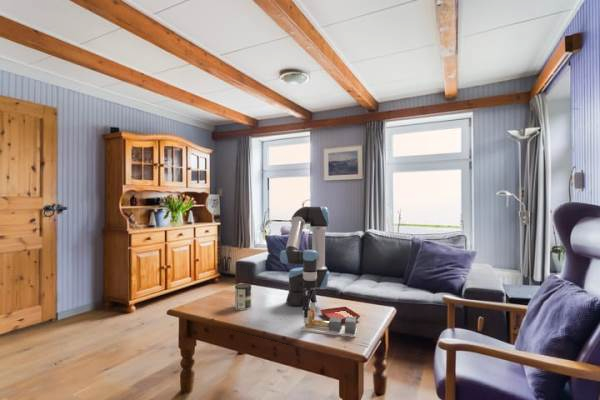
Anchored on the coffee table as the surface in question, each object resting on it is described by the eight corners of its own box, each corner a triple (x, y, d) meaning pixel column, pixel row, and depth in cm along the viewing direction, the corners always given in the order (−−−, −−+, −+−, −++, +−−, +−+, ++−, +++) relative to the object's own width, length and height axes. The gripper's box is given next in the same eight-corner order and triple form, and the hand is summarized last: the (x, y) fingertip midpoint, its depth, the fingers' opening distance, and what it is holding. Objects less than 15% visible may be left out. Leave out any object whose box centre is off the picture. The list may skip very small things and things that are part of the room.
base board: (307, 323, 174) (307, 322, 174) (357, 329, 167) (357, 328, 167) (302, 331, 165) (302, 329, 165) (355, 337, 157) (355, 335, 157)
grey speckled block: (330, 326, 168) (330, 317, 168) (341, 327, 167) (341, 318, 167) (328, 330, 163) (328, 321, 163) (340, 332, 161) (340, 322, 161)
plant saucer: (319, 314, 190) (319, 309, 190) (345, 311, 196) (345, 306, 196) (332, 326, 173) (332, 320, 173) (361, 321, 179) (361, 315, 179)
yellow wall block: (305, 326, 167) (305, 311, 167) (306, 323, 171) (307, 308, 171) (338, 330, 162) (338, 314, 162) (339, 327, 166) (339, 312, 166)
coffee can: (249, 304, 208) (249, 282, 208) (252, 309, 198) (252, 286, 198) (233, 305, 204) (233, 284, 204) (236, 311, 194) (236, 288, 194)
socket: (346, 327, 167) (346, 316, 167) (356, 329, 165) (356, 317, 165) (344, 333, 160) (344, 321, 160) (354, 334, 159) (354, 322, 159)
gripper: (309, 273, 182) (308, 310, 182) (296, 284, 158) (296, 326, 158) (321, 274, 180) (321, 311, 180) (310, 285, 156) (310, 328, 156)
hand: (309, 318), depth 169 cm, fingers open, 13 cm apart
